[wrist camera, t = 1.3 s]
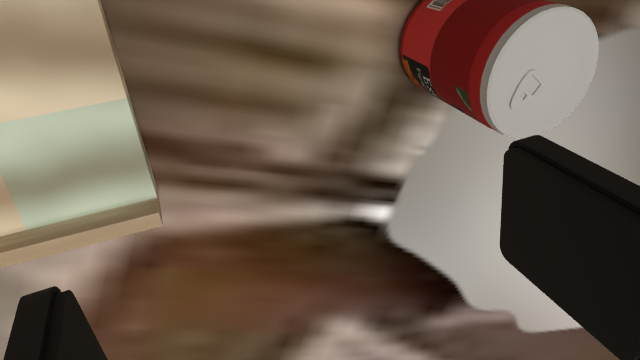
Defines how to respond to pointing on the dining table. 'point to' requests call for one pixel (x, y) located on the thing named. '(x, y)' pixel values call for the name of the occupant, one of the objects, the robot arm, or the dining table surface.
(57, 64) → the board
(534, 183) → the robot arm
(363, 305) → the dining table surface
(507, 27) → the canned food
